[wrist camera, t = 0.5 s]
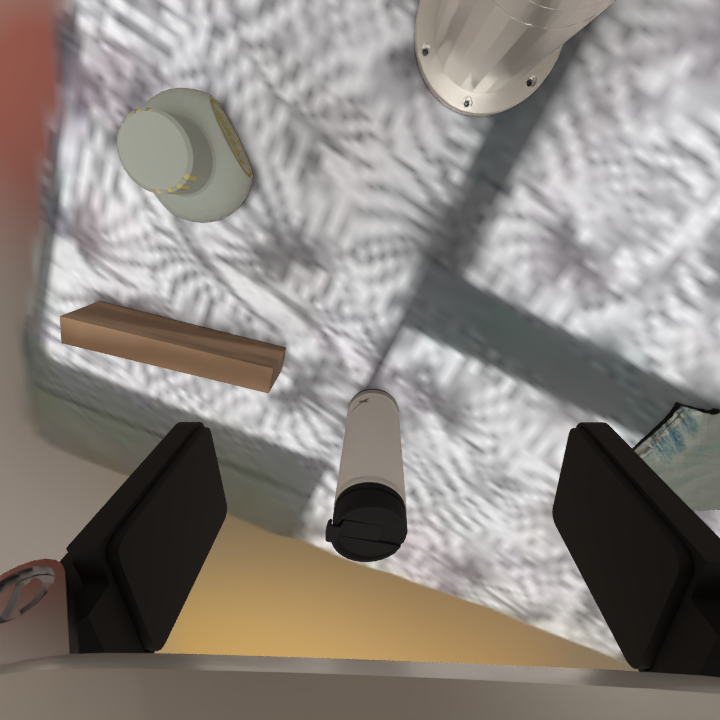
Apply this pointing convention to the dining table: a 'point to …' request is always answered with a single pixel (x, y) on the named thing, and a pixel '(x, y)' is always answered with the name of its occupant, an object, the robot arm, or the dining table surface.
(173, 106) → the air freshener
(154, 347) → the board
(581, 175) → the dining table surface
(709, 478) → the decorative slab
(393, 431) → the travel mug
